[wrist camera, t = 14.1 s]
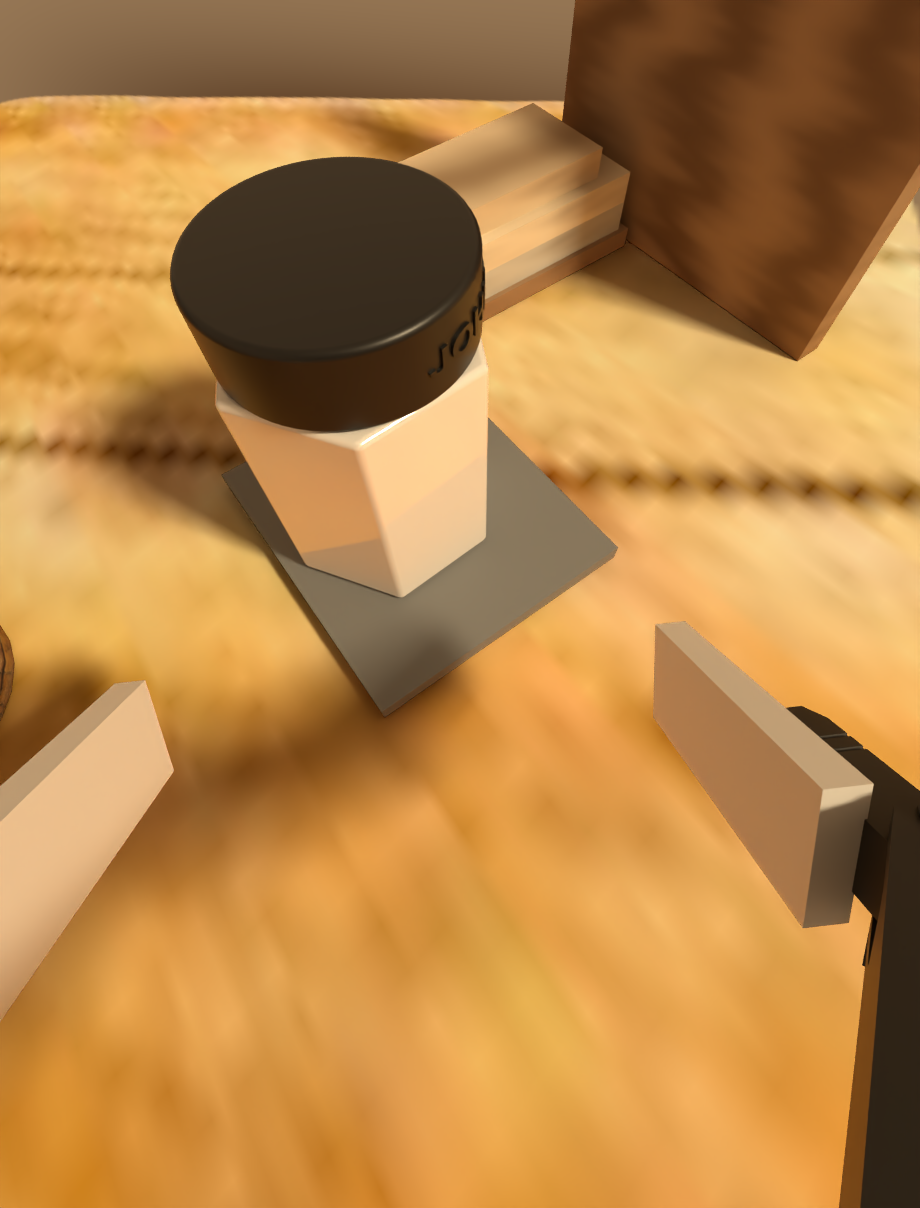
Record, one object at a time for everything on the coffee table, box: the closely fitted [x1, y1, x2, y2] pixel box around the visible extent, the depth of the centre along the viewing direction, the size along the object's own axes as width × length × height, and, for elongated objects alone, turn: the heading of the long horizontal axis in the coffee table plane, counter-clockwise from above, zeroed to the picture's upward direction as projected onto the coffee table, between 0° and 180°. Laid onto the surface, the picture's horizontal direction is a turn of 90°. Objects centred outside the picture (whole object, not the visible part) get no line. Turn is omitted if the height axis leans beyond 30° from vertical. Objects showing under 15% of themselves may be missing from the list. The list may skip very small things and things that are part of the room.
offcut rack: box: [398, 0, 920, 361], centre depth 24 cm, size 20×15×18 cm
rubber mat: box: [222, 418, 618, 717], centre depth 26 cm, size 14×12×1 cm
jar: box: [170, 157, 489, 597], centre depth 20 cm, size 9×8×12 cm
